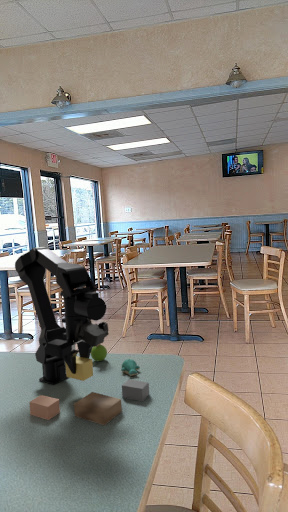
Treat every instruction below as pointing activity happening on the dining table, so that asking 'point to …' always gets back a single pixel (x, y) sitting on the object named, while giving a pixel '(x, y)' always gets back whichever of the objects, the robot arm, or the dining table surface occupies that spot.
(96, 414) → the walnut block
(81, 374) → the mustard brick
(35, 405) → the terracotta brick
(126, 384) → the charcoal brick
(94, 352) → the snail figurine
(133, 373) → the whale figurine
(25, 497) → the dining table surface
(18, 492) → the dining table surface
